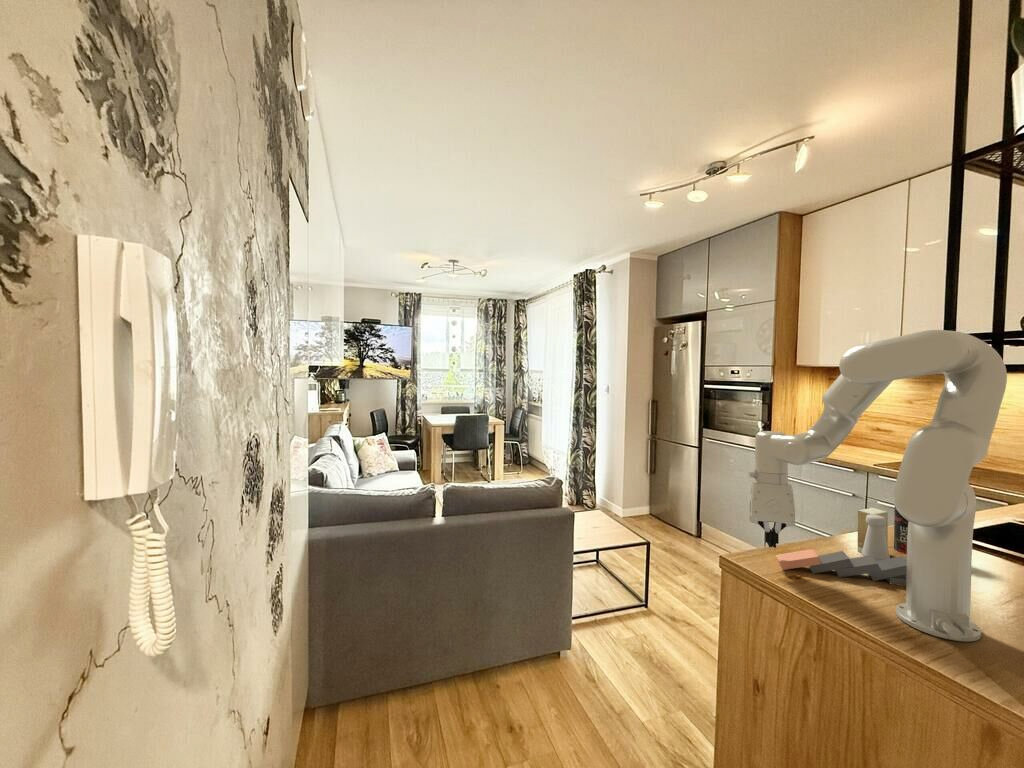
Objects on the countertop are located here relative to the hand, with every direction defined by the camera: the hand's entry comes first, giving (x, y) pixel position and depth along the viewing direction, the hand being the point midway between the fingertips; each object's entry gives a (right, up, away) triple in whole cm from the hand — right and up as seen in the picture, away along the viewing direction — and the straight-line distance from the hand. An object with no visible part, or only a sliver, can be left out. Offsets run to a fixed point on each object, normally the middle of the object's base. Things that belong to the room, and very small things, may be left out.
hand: (771, 545), depth 119 cm
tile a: (+8, -4, -3) cm, 10 cm away
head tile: (+2, -4, 0) cm, 5 cm away
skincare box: (+33, -5, +7) cm, 34 cm away
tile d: (+24, -5, -8) cm, 25 cm away
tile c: (+20, -4, -7) cm, 22 cm away
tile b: (+14, -4, -5) cm, 15 cm away
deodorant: (+44, -5, +8) cm, 45 cm away
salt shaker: (+28, -5, 0) cm, 29 cm away
